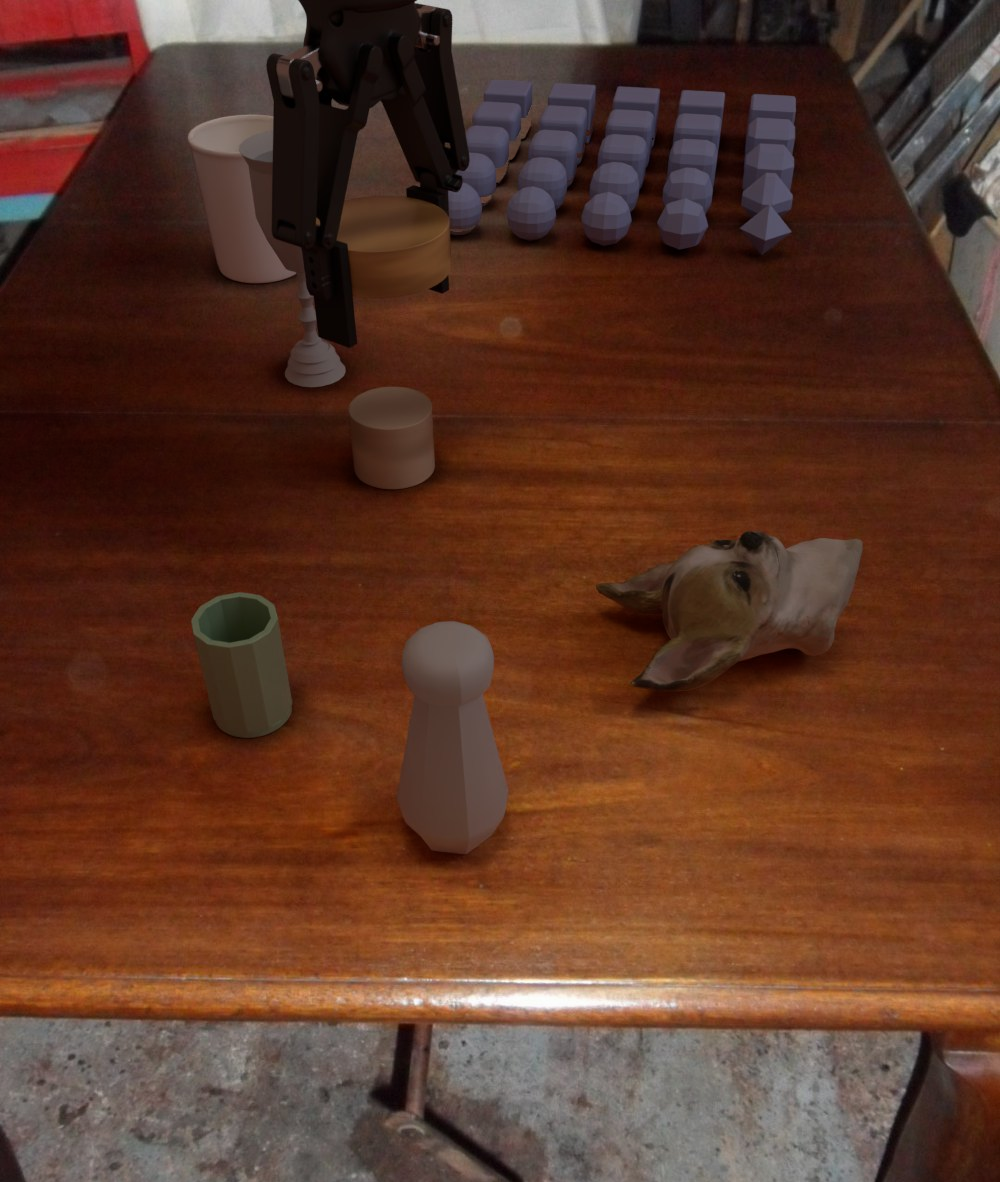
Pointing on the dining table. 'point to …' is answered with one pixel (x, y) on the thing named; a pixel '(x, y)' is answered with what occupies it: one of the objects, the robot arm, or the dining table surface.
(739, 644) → the ceramic sculpture
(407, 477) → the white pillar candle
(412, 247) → the wooden disc
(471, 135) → the blocks
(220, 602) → the cup
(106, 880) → the dining table surface
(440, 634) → the salt shaker
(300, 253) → the chalice
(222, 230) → the white tapered vessel
